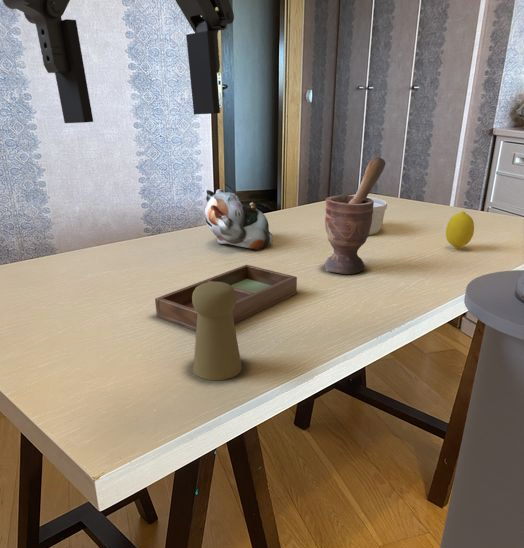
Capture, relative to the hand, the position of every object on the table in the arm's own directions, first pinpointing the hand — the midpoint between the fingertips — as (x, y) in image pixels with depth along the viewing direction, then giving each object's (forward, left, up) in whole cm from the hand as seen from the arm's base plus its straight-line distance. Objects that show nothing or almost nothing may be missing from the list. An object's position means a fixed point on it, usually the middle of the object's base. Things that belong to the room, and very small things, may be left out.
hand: (149, 118), depth 45 cm
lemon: (-1, -81, -29) cm, 86 cm away
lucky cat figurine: (+38, -55, -29) cm, 73 cm away
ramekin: (+24, -82, -29) cm, 90 cm away
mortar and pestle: (+11, -56, -29) cm, 64 cm away
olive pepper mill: (+3, -10, -29) cm, 31 cm away
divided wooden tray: (+16, -27, -29) cm, 43 cm away
